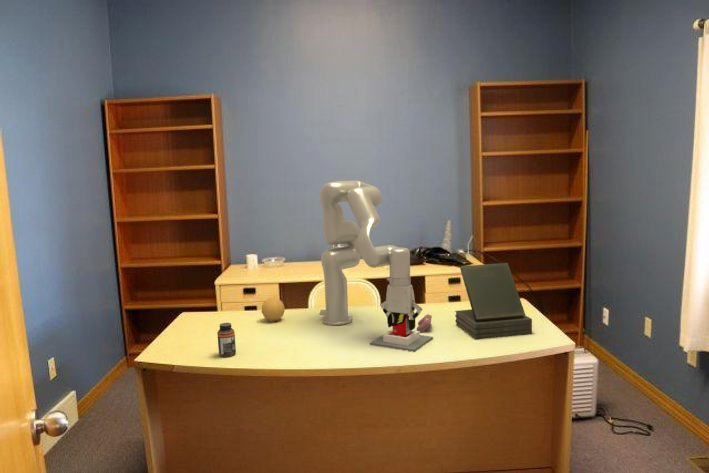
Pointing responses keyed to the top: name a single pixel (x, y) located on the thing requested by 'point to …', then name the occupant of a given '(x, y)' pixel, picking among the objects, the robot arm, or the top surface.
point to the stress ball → (273, 309)
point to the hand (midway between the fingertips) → (401, 327)
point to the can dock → (402, 341)
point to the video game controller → (424, 323)
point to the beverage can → (400, 324)
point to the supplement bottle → (226, 340)
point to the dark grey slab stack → (492, 303)
